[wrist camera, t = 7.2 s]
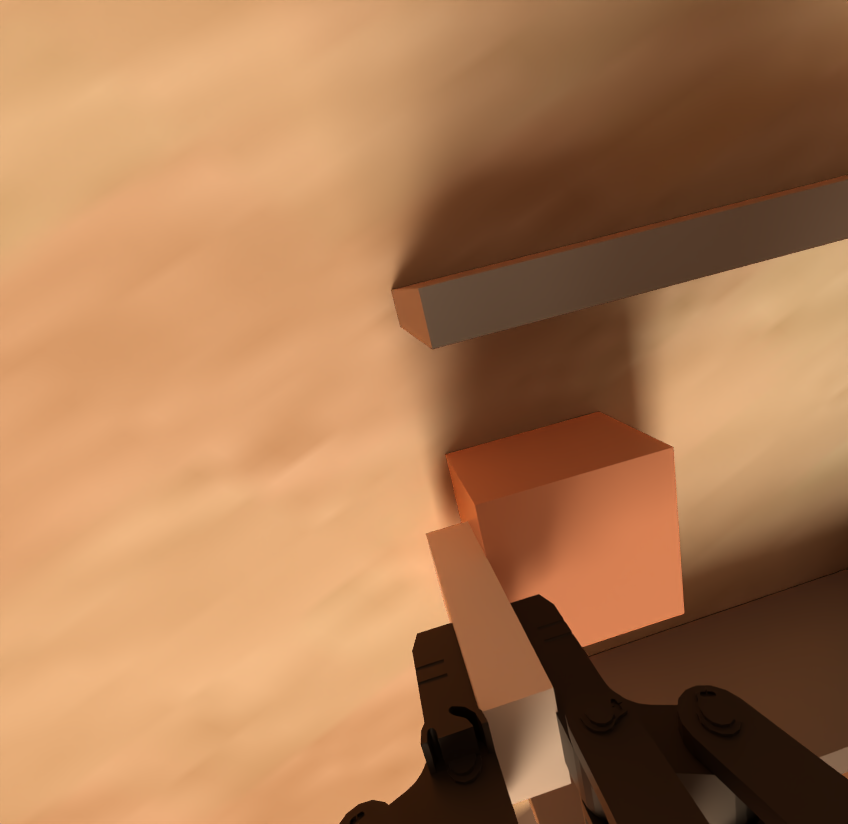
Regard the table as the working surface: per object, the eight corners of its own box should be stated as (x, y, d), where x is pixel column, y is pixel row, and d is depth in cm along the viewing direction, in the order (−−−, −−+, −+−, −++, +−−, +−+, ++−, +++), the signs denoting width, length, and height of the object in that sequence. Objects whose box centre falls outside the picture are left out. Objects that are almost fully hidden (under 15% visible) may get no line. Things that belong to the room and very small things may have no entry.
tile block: (599, 411, 17) (673, 447, 13) (615, 546, 18) (684, 613, 14) (445, 454, 16) (474, 505, 12) (476, 588, 18) (511, 670, 14)
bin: (908, 159, 16) (1225, 83, 10) (876, 579, 21) (1070, 686, 15) (390, 289, 14) (418, 288, 8) (497, 710, 19) (557, 883, 14)
